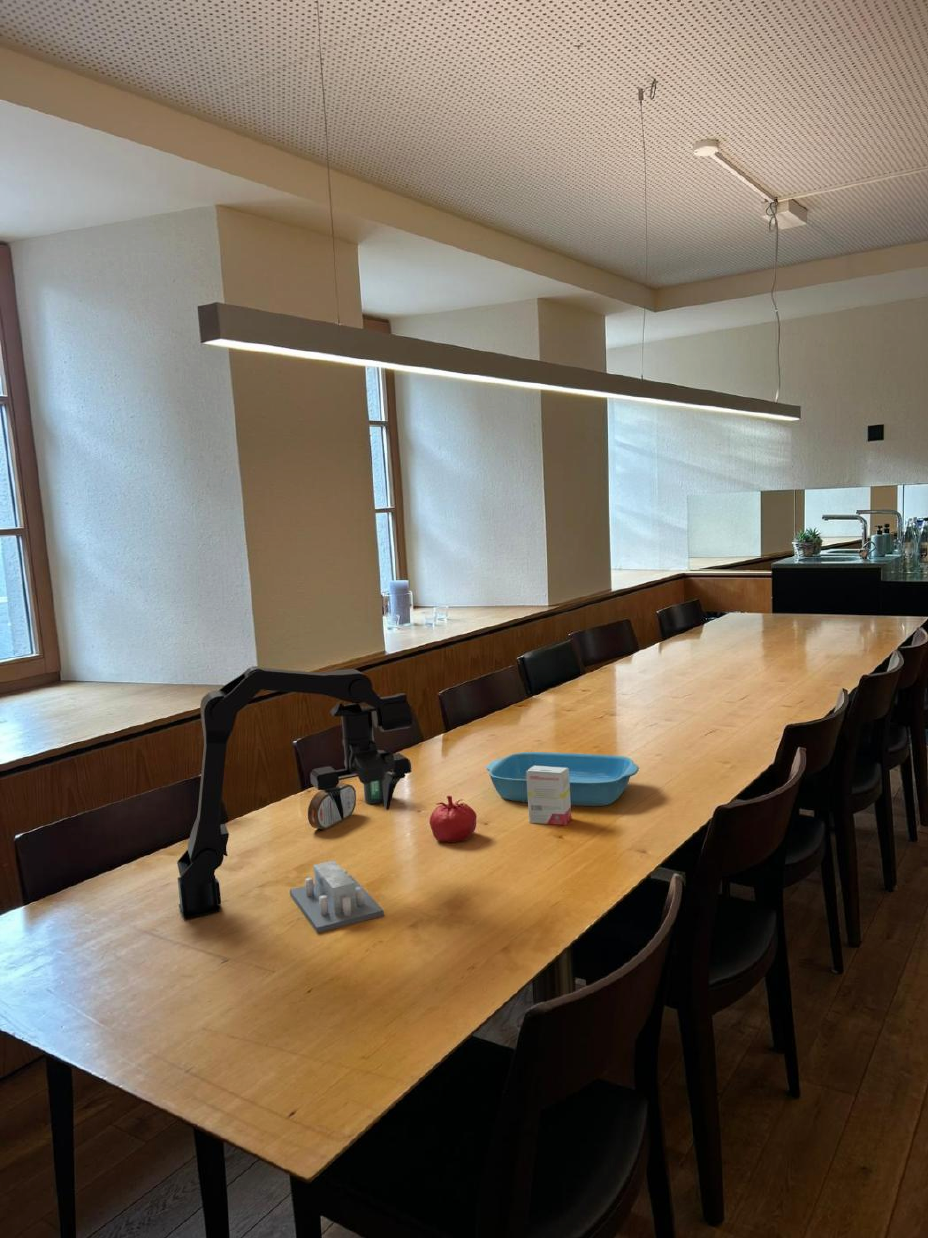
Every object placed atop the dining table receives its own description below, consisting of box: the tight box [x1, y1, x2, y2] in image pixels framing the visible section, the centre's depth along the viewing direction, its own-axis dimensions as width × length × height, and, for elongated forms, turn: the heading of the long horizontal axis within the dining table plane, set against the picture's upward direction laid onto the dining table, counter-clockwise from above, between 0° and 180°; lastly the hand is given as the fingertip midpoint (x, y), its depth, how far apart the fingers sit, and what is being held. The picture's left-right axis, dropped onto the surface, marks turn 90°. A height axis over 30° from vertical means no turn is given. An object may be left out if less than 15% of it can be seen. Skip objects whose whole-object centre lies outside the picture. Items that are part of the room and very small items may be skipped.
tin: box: [307, 781, 357, 830], centre depth 208 cm, size 15×3×8 cm, turn 150°
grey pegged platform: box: [289, 869, 385, 934], centre depth 165 cm, size 12×18×4 cm, turn 25°
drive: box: [312, 860, 357, 915], centre depth 165 cm, size 4×12×5 cm, turn 25°
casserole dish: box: [485, 751, 640, 807], centre depth 219 cm, size 37×22×7 cm, turn 68°
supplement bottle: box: [362, 749, 394, 806], centre depth 222 cm, size 7×7×12 cm
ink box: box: [526, 766, 572, 826], centre depth 201 cm, size 9×5×12 cm, turn 67°
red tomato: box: [429, 795, 478, 843], centre depth 194 cm, size 10×10×9 cm
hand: (364, 814), depth 177 cm, fingers open, 9 cm apart
